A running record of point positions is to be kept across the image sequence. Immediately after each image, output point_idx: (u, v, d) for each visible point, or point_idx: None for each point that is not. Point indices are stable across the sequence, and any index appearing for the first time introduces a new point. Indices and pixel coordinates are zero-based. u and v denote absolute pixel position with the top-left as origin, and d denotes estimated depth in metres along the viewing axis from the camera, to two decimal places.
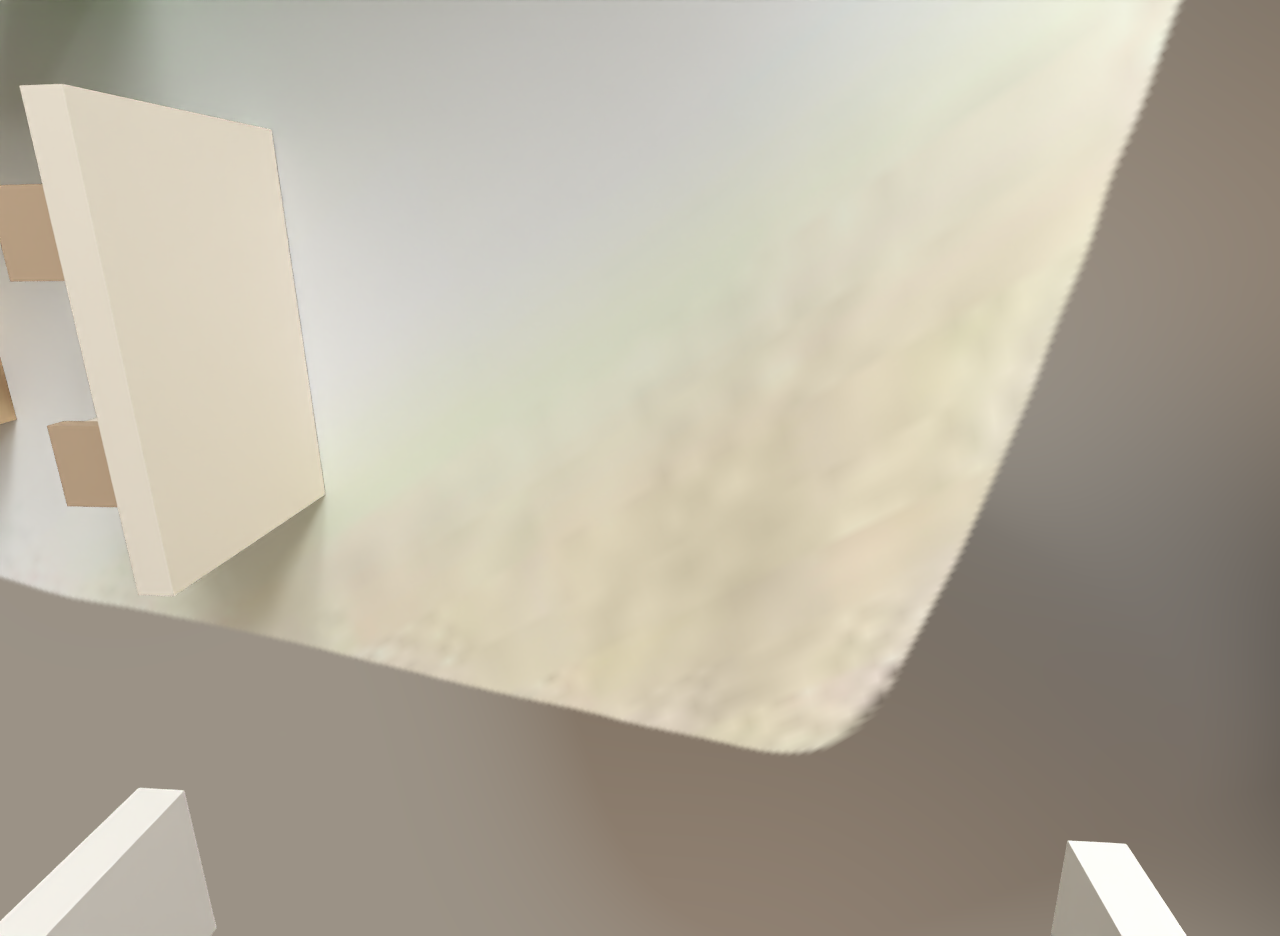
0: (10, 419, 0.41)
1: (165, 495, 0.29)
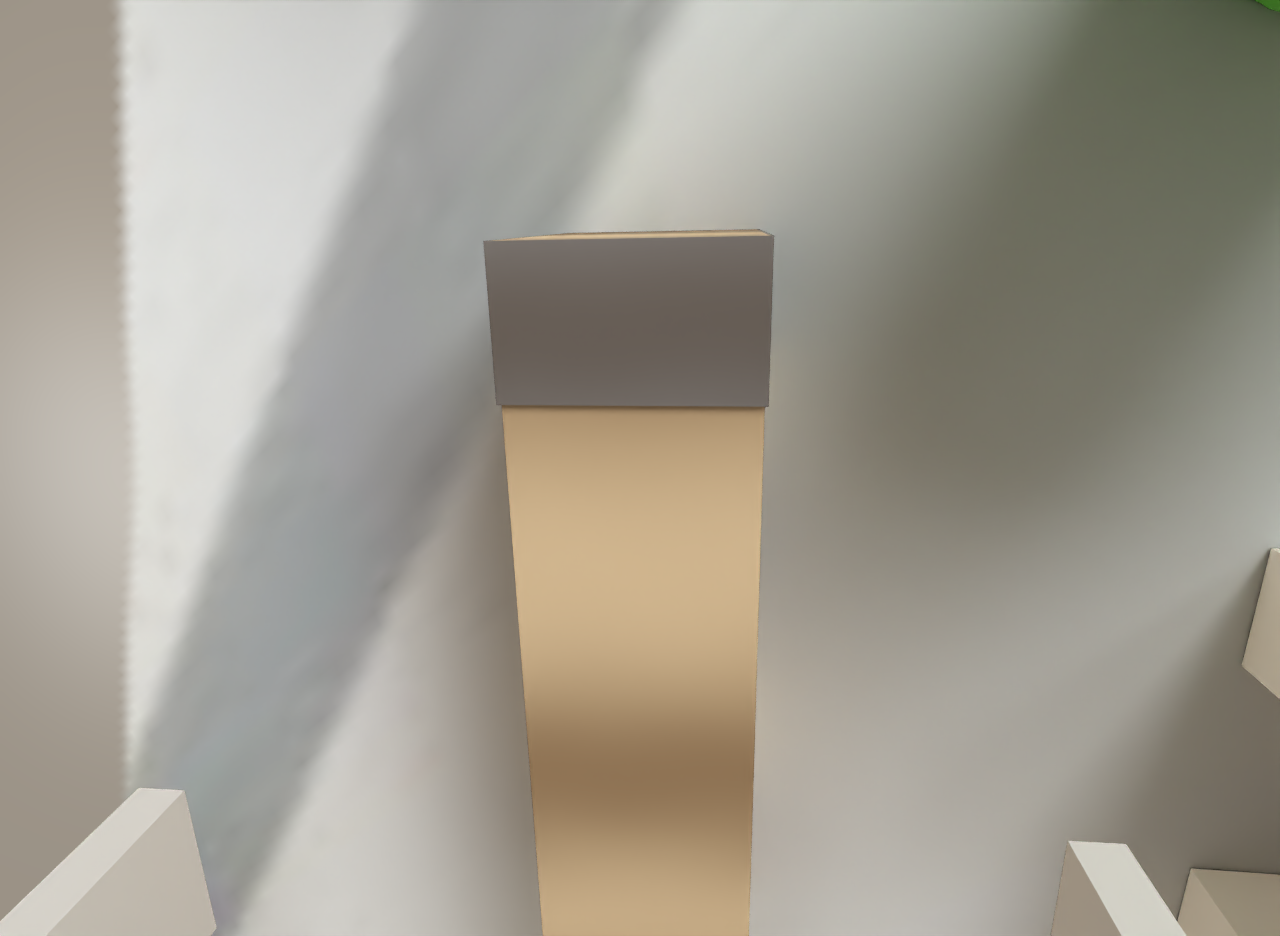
0: None
1: None
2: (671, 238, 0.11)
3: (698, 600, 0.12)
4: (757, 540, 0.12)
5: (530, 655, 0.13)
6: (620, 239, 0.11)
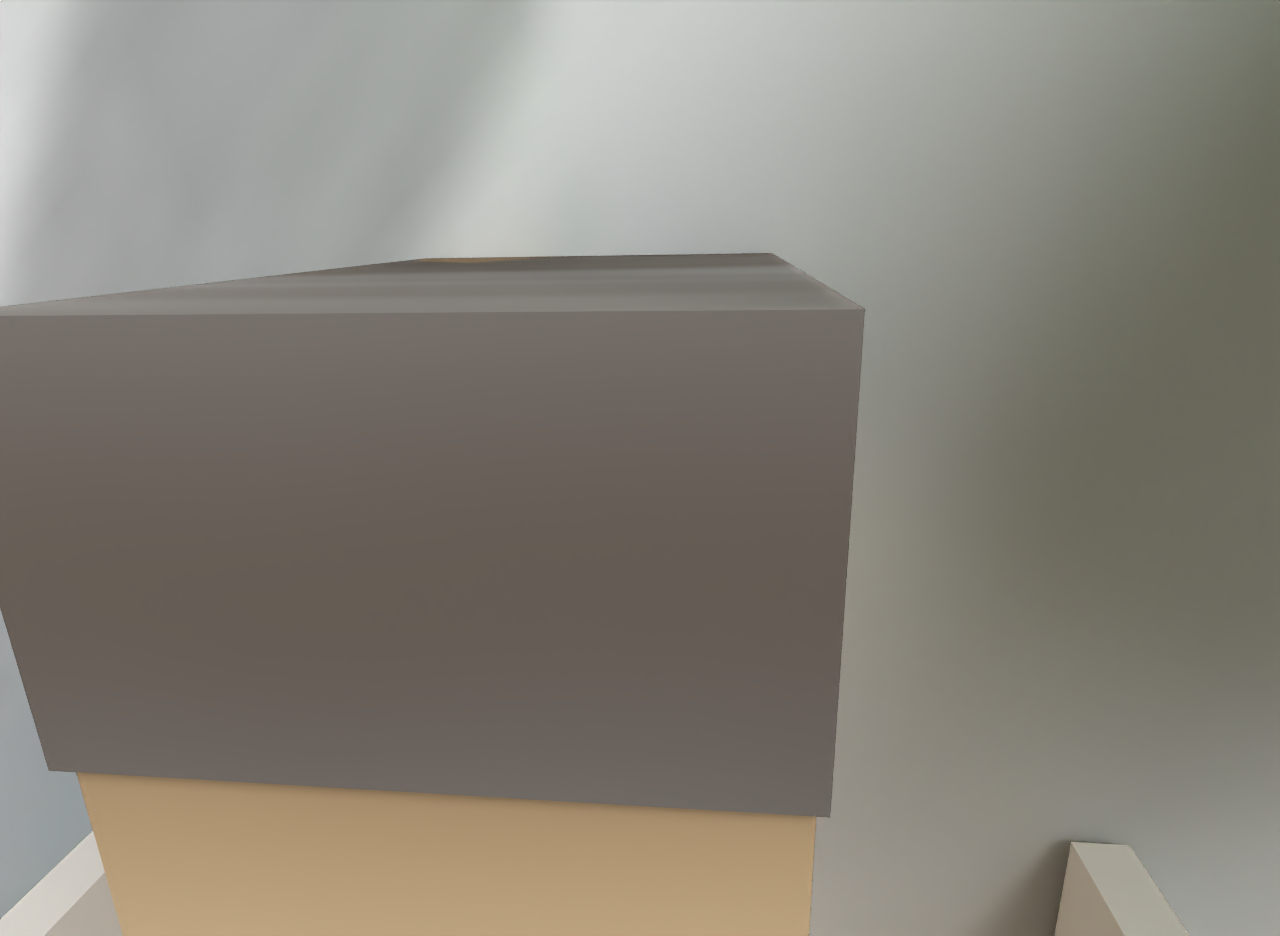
0: None
1: None
2: (510, 314, 0.03)
3: None
4: None
5: None
6: (342, 315, 0.03)
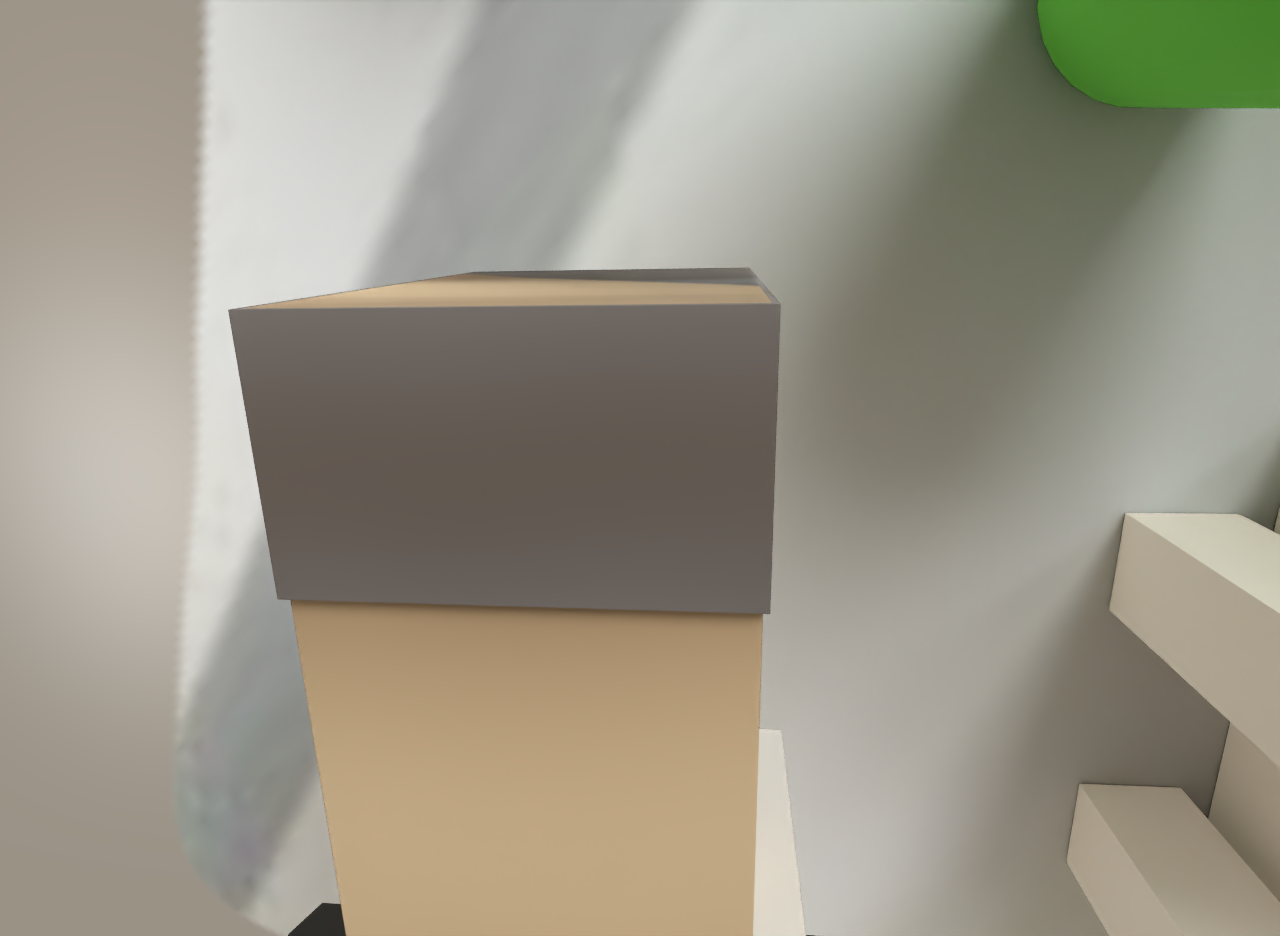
0: None
1: None
2: (582, 307, 0.06)
3: (648, 919, 0.07)
4: (750, 831, 0.07)
5: None
6: (484, 308, 0.06)
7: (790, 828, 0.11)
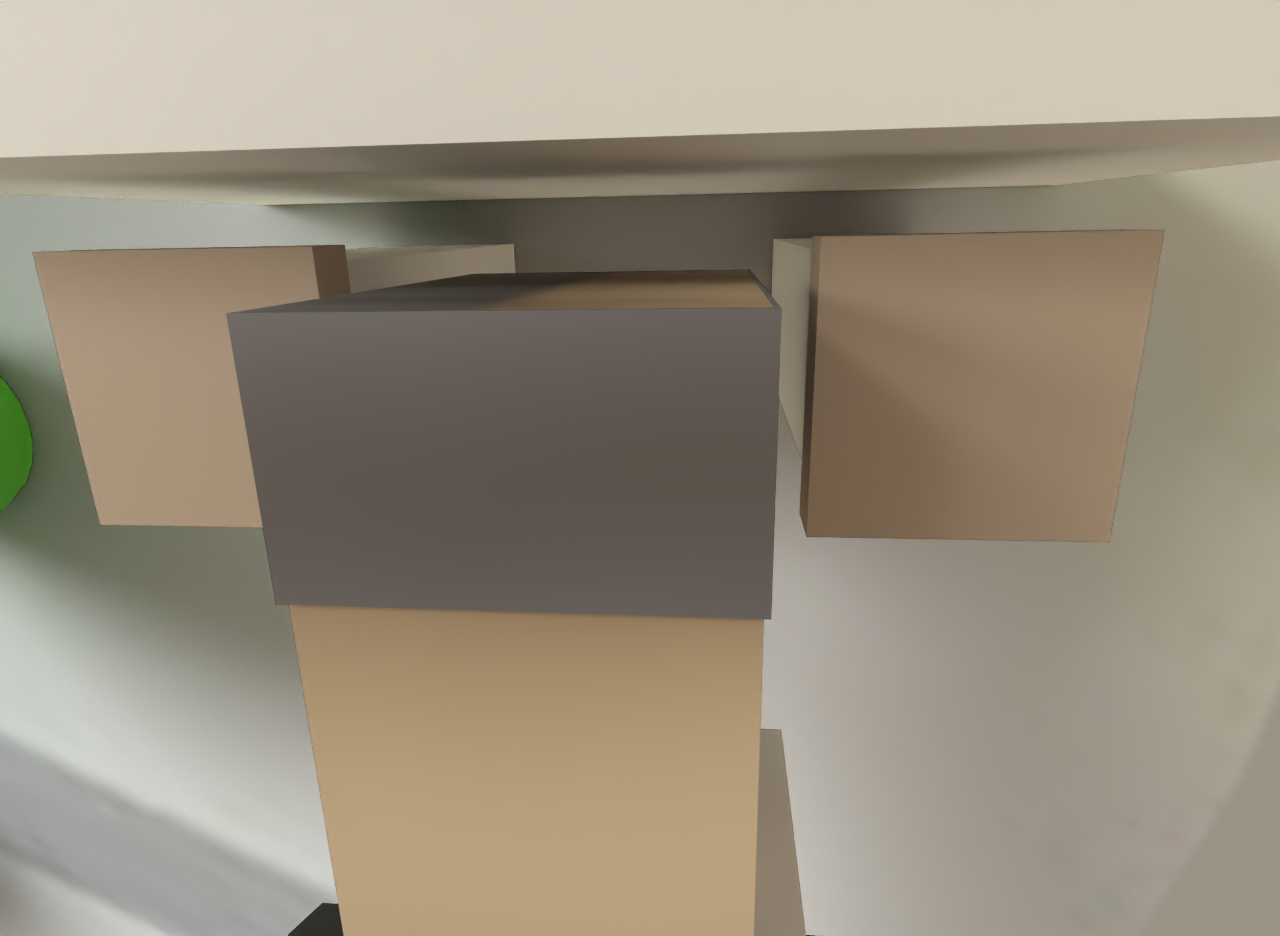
0: None
1: None
2: (582, 311, 0.06)
3: (648, 925, 0.07)
4: (751, 837, 0.07)
5: None
6: (484, 312, 0.06)
7: (790, 828, 0.11)
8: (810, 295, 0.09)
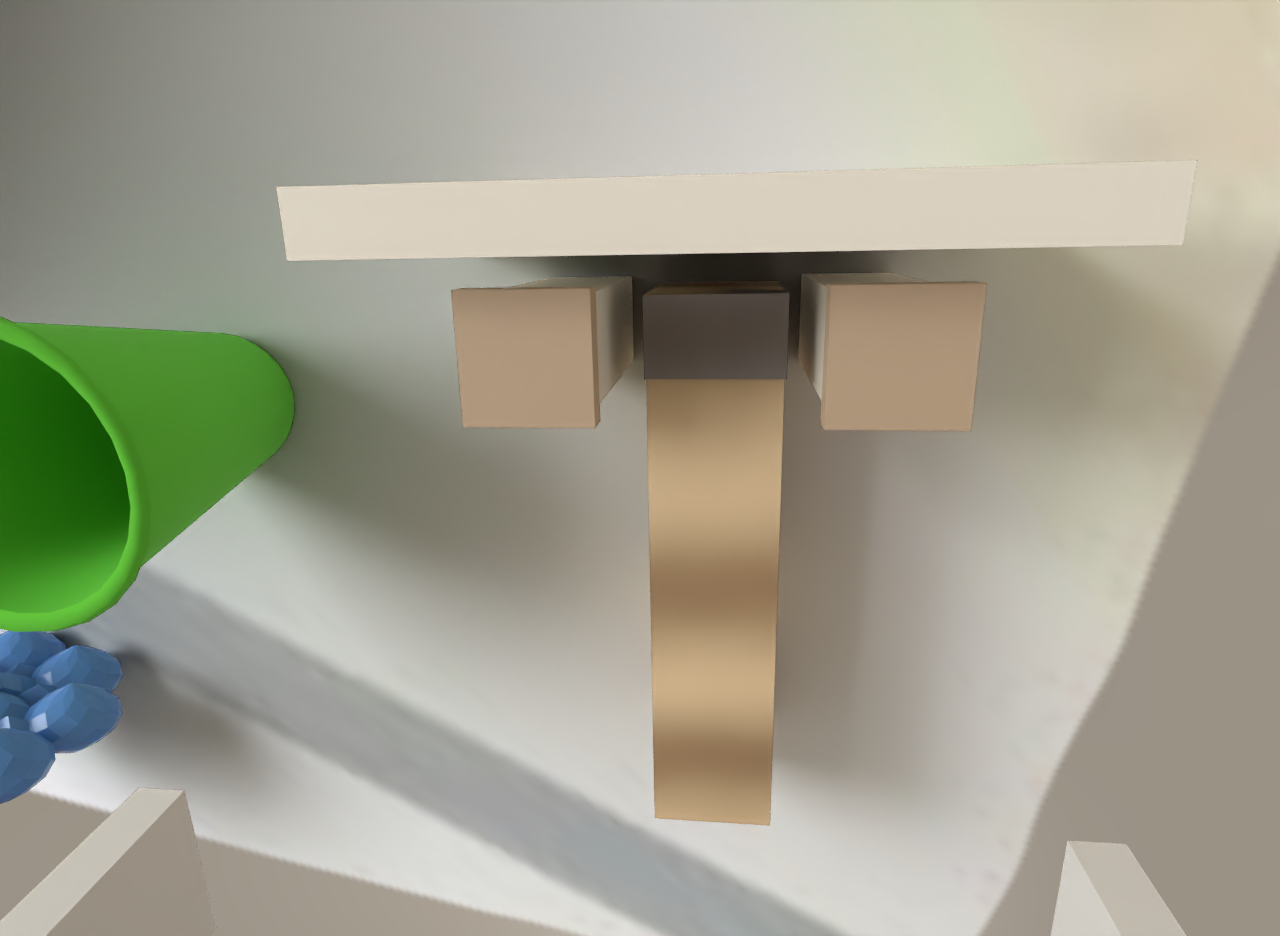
0: None
1: None
2: (738, 294, 0.22)
3: (748, 485, 0.23)
4: (780, 451, 0.23)
5: (654, 519, 0.24)
6: (712, 294, 0.22)
7: None
8: (826, 312, 0.18)
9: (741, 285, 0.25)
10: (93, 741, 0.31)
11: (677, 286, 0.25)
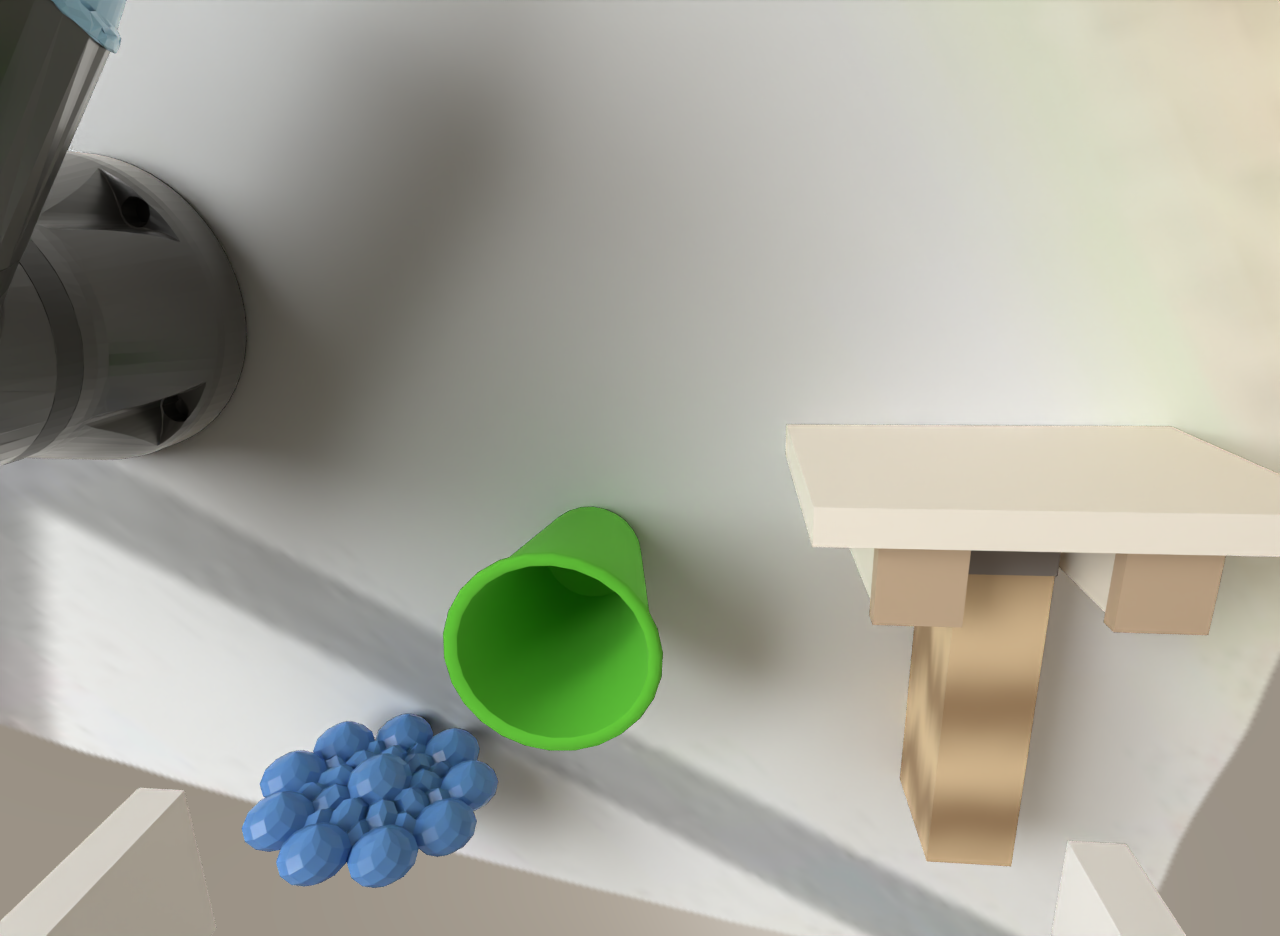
0: None
1: (1233, 507, 0.26)
2: None
3: (1022, 642, 0.34)
4: (1047, 620, 0.34)
5: (952, 662, 0.35)
6: None
7: None
8: (1116, 559, 0.29)
9: None
10: (486, 803, 0.42)
11: None
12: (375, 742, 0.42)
